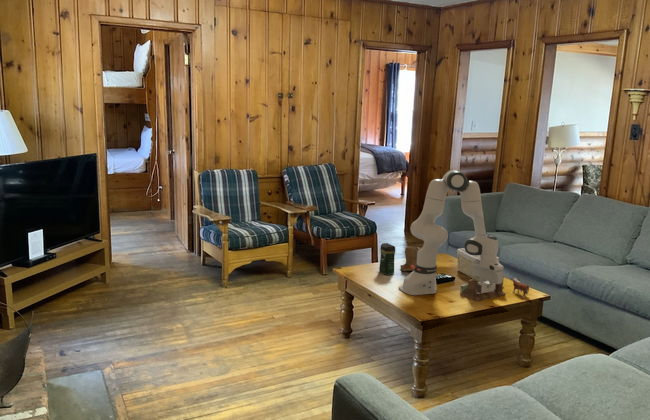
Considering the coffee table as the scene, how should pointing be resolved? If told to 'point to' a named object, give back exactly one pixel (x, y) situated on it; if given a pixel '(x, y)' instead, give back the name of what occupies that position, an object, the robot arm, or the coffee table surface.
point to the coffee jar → (387, 258)
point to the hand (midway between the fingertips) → (485, 286)
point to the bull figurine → (520, 286)
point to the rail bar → (485, 287)
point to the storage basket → (467, 263)
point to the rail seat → (471, 293)
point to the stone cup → (410, 258)
